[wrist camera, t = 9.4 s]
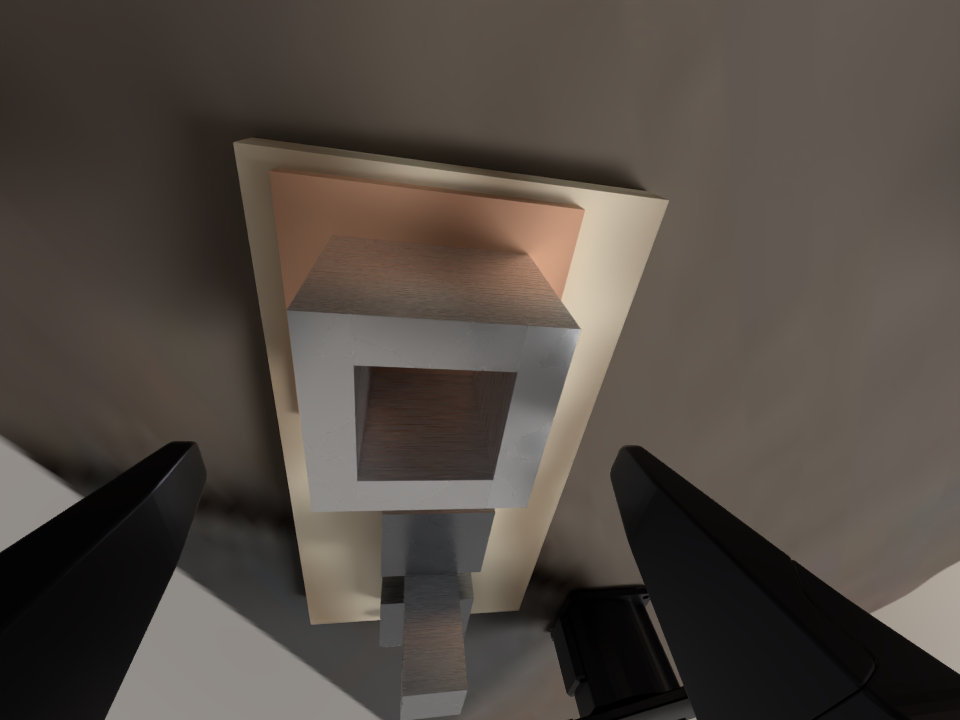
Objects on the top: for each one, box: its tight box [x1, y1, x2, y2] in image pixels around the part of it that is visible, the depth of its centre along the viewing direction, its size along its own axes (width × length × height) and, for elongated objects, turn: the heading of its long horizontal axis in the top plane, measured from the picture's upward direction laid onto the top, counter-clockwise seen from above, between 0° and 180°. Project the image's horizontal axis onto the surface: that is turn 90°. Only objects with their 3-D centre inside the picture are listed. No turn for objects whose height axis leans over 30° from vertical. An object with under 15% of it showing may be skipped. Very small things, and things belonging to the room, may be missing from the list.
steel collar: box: [287, 235, 581, 512], centre depth 12 cm, size 6×6×5 cm
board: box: [233, 137, 669, 625], centre depth 19 cm, size 13×26×2 cm, turn 172°
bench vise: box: [379, 508, 495, 720], centre depth 19 cm, size 5×14×7 cm, turn 172°
